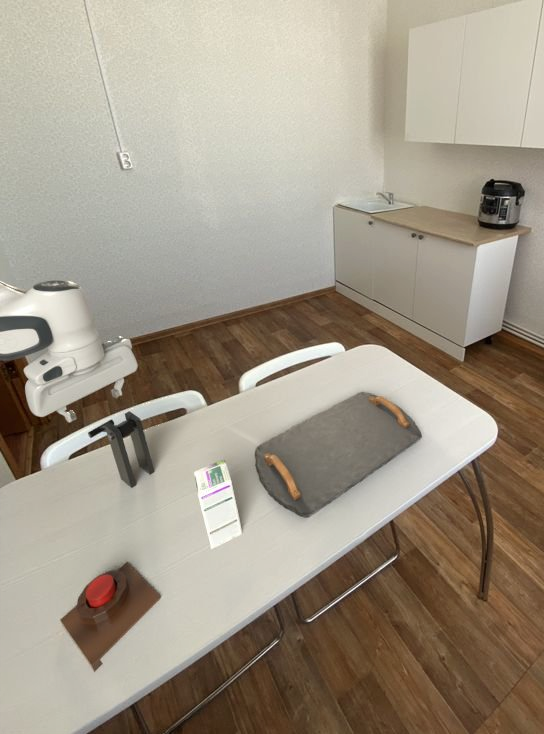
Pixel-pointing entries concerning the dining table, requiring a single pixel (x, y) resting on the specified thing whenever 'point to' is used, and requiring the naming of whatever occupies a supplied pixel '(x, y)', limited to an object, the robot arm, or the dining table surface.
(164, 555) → the dining table surface
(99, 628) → the control block
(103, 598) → the button
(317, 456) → the serving tray
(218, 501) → the syrup box
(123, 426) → the lever
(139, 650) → the dining table surface
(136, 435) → the bracket
